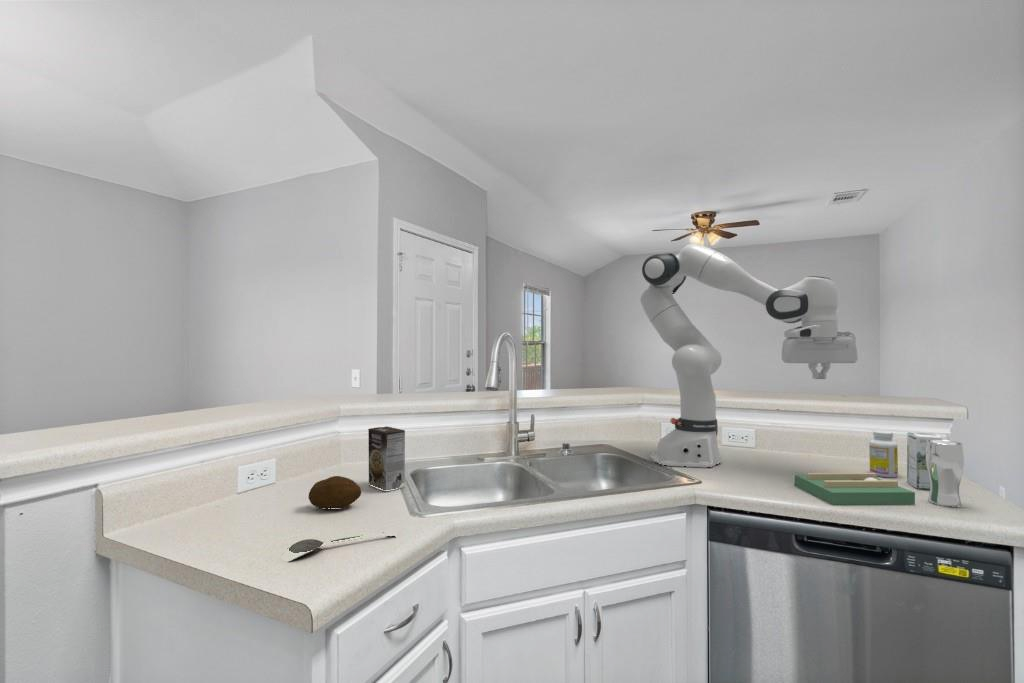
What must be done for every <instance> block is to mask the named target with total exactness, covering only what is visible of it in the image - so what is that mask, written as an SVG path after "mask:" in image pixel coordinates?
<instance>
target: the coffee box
mask: <svg viewBox="0 0 1024 683" xmlns="http://www.w3.org/2000/svg"><path fill="white" fill-rule="evenodd" d="M367 430H368V485H369V484H370V485H373V486H375V487H378V488H381V489H383V490H391V489H396V488H399V487H400V485H401V484H402V483H404V482H405V480H406V479H405V477H406V476H405V474H406V473H405V471H406V469H405V468H406V464H405V463H406V460H405V459H406V458H405V456H406V452H405V451H406V438H405V437H406V431H405V430H406V429H401V428H397V427H391V426H383V427H382V426H380V427H370V428H368V429H367Z"/></svg>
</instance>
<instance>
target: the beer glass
mask: <svg viewBox="0 0 1024 683" xmlns="http://www.w3.org/2000/svg"><path fill="white" fill-rule="evenodd" d="M964 461H965V460H964V450H963V443H962V442H959V441H953V440H948V439H947V440H946V439H942V440H936V439H931V440H927V444H926V467H927V471H928V476H929V481H930V490H929V494H928V498H927V501H928V502H929V503H931V504H933V503H934V505H936V504H938V506H940V505H943V506H942V507H946V506H953V507H952V508H957V507H956V506H961V507H962V501H961V496H960V486H961V480H962V476H963V472H964V465H965V463H964ZM954 506H955V507H954Z"/></svg>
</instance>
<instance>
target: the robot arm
mask: <svg viewBox="0 0 1024 683" xmlns="http://www.w3.org/2000/svg"><path fill="white" fill-rule="evenodd" d="M641 274H642V276H643V278H644V279H645V281H647V283H648V284H649V286H648V287H647V288H646V289H645V290H644V291H643V292H642V294H641V296H640V298H639V300H640V304H641V306H642V309H643V311H644V313H645V315H646V316H647V319H648V320H649V322H650V323H651V324H652V326H653V328H654V329H655V330H656V332H657V333H658V335H659V336H660V338H661V339H662V341H663V342H664V343H665V344H667V346H669V347H670V348H671V350H673V351H674V353H673V355H672V358H671V364H672V368H673V370H674V371H675V375H676V379H677V383H678V389H679V397H680V400H679V401H680V417H679V418H677V419H676V418H675V417H671V419H670V423H671V424H672V425H674V429H672V430H671V431H670V432H668V433H667V434H666V435H665V436H663V437H661V438H660V439H659V441H658V444H657V450H656V453H655V452H653V453H650V457H649V458H650V460H651V461H652V460H653V461H652V462H654V461H655V462H657V463H660V464H663V465H662V466H664V465H667V467H684V466H686V468H687V467H688V468H707V467H711V468H713V467H715V466H717V465H716V464H718V465H720V464H721V463H722V462H721V461H722V458H721V456H720V451H719V445H718V438H717V436H718V430H719V428H718V419H717V412H716V411H717V404H716V401H717V399H716V392H715V390H714V387H713V383H712V375H714V374H715V373H716V372H717V371H718V369H719V368H720V367H721V365H722V354H721V353H720V352H719V350H718V349H717V348H715V346H713V344H712V343H711V342H710V341H709V339H707V338H706V336H705V335H704V334H703V333H702V332H701V331H700V330H699V329H698V328H697V327H696V326H695V324H694V323H692V321H691V320H690V319H689V316H687V314H686V313H685V311H684V310H683V309H682V307H681V306H680V304H679V303H678V302H677V300H676V299H675V298H674V296H673V295H674V294H676V293H677V291H678V290H679V289H680V287H681V286H683V284H684V282H685V281H686V280H687V277H690V278H692V279H694V280H696V281H698V282H700V283H702V284H704V285H706V286H708V287H711V288H713V289H717V290H720V291H721V290H722V291H726V292H731V293H736V294H740V295H742V296H745V297H747V298H749V299H751V300H753V301H755V302H756V303H759V304H761V305H763V306H764V307H765V310H766V312H767V314H768V315H769V316H770V317H771V318H773V319H774V320H778V321H781V322H783V323H786V324H795V323H799V322H800V321H801V325H800V326H797V327H793V328H790V329H787V330H785V331H784V332H783V333H784V334H783V335H784V338H785V339H784V340H783V342H782V346H781V360H782V361H783V363H785V364H808V366H807V367H808V369H809V370H810V372H811V374H812V379H813V380H826V379H827V373H828V371H829V370H830V368H831V364H856V362H857V361H858V348H857V345H856V342H857V340H856V339H857V338H856V335H854V333H851V331H838V318H837V309H838V291H837V285H836V283H835V281H834V280H833V279H831V278H830V277H826V276H825V277H824V276H817V275H808V276H806V277H804V278H803V279H802V280H800V281H798V282H797V283H794V284H792V285H789V286H788V287H784V288H781V289H778V288H776V287H773V286H771V285H769V284H767V283H765V282H763V281H761V280H759V279H757V278H755V277H754V276H753V275H751V274H750V273H749V272H747V271H746V270H745V269H744V268H743V267H741V266H740V265H739V264H738V263H736V261H734V260H732V259H731V258H730V257H729V256H726V255H725V254H723V253H721V252H720V251H717V250H715V249H713V248H710V247H707V246H704V245H700V244H697V243H688V244H687V245H685V246H684V247H682V248H681V249H680V251H679V252H678V254H675V253H672V252H670V253H658V254H652V255H650V256H648V257H647V258H646V259H645V260H644V262H643V264H642V267H641ZM818 364H820V367H822V368H821V370H820V372H819V370H817V368H818ZM655 462H654V463H655ZM657 463H656V464H657ZM719 463H720V464H719ZM660 464H659V465H660ZM712 466H713V467H712Z"/></svg>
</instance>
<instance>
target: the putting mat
mask: <svg viewBox="0 0 1024 683" xmlns="http://www.w3.org/2000/svg"><path fill="white" fill-rule="evenodd" d="M793 476H794V480H793V482H794V483H793V484H794V486H795V487H797V488H798V489H801V490H802V491H805V492H806V493H808V494H811V495H812V496H814V497H816V498H818V499H819V500H822V501H823V502H826V503H828V504H830V505H832V506H862V505H863V506H870V505H875V506H878V505H879V506H882V505H883V506H884V505H887V506H889V505H891V506H904V505H909V506H911V504H915V505H916V492H914V491H912V490H910V489H907V488H905V487H902V486H900V485H899V481H898V480H892V479H891V480H889V479H888V480H885V479H880V478H878V476H877V474H876V473H870V472H808V473H807V472H806V474H794V475H793ZM866 478H875V479H877V480H865V479H866Z"/></svg>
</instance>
